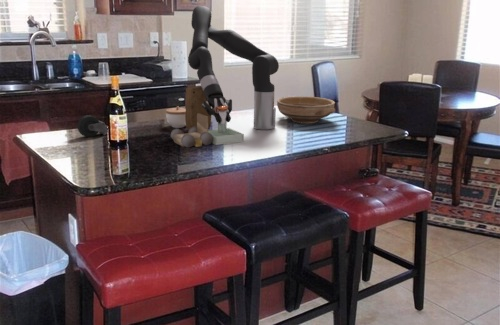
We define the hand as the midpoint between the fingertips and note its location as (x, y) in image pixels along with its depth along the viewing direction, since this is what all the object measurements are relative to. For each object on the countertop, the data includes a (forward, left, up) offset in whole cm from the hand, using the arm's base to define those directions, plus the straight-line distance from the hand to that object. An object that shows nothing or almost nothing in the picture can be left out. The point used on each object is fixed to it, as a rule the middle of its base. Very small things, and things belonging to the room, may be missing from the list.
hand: (224, 121), depth 210 cm
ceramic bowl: (-55, -17, -8) cm, 58 cm away
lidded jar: (+6, -34, -8) cm, 36 cm away
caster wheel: (+44, -33, -8) cm, 56 cm away
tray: (0, -2, -8) cm, 8 cm away
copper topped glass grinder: (0, -2, -5) cm, 5 cm away
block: (+1, -22, -8) cm, 24 cm away
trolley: (+13, -3, -8) cm, 16 cm away
